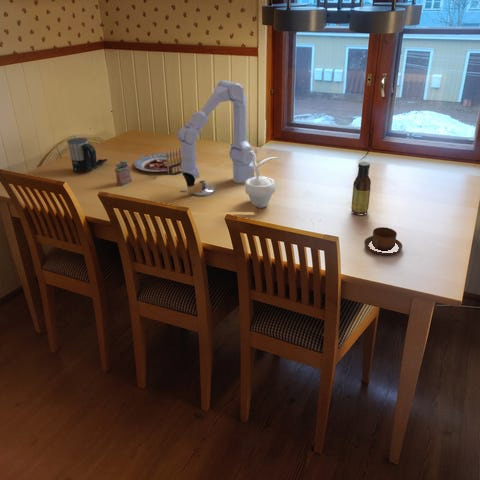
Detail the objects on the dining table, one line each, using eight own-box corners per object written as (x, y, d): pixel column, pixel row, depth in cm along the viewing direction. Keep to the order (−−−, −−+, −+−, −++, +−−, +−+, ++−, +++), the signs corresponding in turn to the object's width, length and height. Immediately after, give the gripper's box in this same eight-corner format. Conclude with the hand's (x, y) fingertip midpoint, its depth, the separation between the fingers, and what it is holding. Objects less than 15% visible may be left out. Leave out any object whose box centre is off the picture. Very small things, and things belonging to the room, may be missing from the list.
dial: (204, 185, 206) (203, 175, 204) (219, 191, 200) (219, 181, 198) (182, 192, 199) (181, 182, 197) (197, 199, 193) (197, 189, 191)
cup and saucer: (399, 260, 151) (402, 243, 148) (361, 254, 155) (363, 237, 152) (403, 243, 160) (405, 227, 158) (366, 238, 164) (368, 221, 162)
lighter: (127, 179, 216) (125, 158, 212) (133, 181, 215) (130, 159, 210) (115, 185, 210) (112, 163, 206) (120, 186, 209) (117, 165, 204)
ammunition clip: (169, 177, 219) (167, 151, 213) (167, 176, 220) (164, 150, 214) (187, 171, 226) (185, 146, 220) (184, 170, 227) (183, 145, 221)
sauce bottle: (355, 208, 186) (361, 158, 177) (370, 212, 182) (376, 162, 173) (347, 213, 182) (352, 163, 172) (362, 218, 178) (368, 167, 169)
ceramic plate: (180, 176, 220) (179, 170, 218) (126, 174, 224) (126, 168, 222) (193, 158, 242) (193, 153, 241) (145, 156, 246) (144, 151, 245)
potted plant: (243, 210, 185) (242, 147, 174) (247, 198, 196) (246, 138, 184) (276, 211, 184) (277, 148, 172) (278, 200, 194) (279, 139, 182)
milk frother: (68, 173, 225) (63, 142, 218) (84, 162, 239) (79, 133, 232) (97, 174, 223) (92, 143, 216) (111, 163, 236) (106, 134, 230)
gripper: (173, 154, 194) (175, 185, 201) (186, 164, 183) (188, 197, 190) (189, 151, 197) (191, 182, 204) (203, 161, 186) (205, 193, 193)
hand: (191, 189), depth 197 cm, fingers closed, pressing on dial
